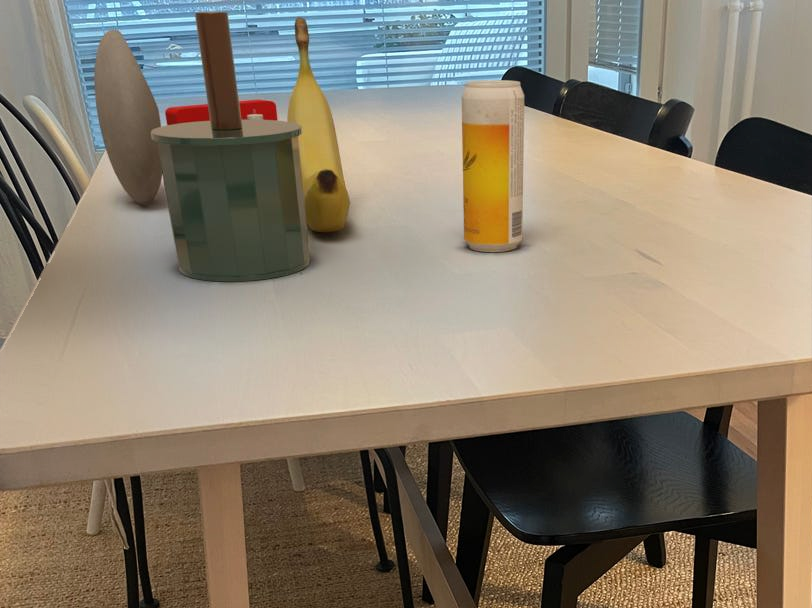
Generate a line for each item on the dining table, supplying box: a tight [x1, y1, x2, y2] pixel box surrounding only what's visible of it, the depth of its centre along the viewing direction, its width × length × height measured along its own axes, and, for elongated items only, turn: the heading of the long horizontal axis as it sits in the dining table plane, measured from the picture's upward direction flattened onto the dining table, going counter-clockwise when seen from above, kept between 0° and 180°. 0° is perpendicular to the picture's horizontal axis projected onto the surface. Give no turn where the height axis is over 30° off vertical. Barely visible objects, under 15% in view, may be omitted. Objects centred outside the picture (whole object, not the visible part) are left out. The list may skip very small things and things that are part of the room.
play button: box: [164, 99, 279, 126], centre depth 132 cm, size 15×3×10 cm, turn 133°
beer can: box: [461, 79, 525, 253], centre depth 99 cm, size 6×6×15 cm
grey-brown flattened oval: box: [93, 29, 163, 205], centre depth 120 cm, size 18×7×19 cm, turn 21°
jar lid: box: [151, 11, 302, 146], centre depth 88 cm, size 14×14×10 cm
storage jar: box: [157, 137, 311, 283], centre depth 94 cm, size 13×13×12 cm
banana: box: [286, 16, 351, 233], centre depth 107 cm, size 23×6×20 cm, turn 12°
